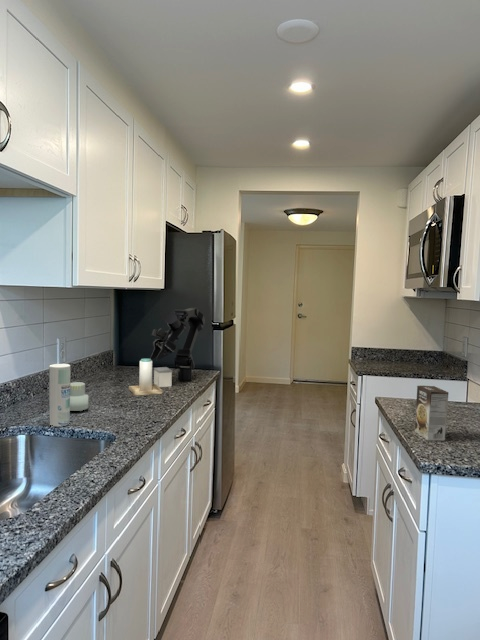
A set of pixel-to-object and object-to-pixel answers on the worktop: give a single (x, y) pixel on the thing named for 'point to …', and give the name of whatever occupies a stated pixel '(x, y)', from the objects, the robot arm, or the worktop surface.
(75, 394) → the air freshener
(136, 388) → the refill tray
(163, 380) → the box
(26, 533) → the worktop surface
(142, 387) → the cartridge
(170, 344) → the robot arm
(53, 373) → the spray can
